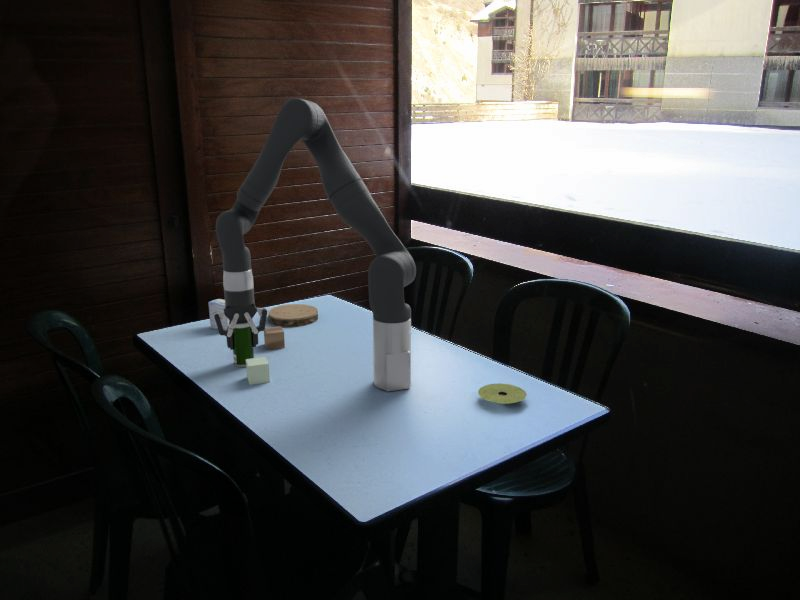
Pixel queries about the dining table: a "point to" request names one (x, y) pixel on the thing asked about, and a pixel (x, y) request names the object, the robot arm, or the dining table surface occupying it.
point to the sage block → (257, 370)
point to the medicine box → (217, 306)
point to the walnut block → (274, 338)
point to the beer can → (242, 343)
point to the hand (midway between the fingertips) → (243, 347)
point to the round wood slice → (293, 315)
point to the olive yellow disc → (502, 393)
